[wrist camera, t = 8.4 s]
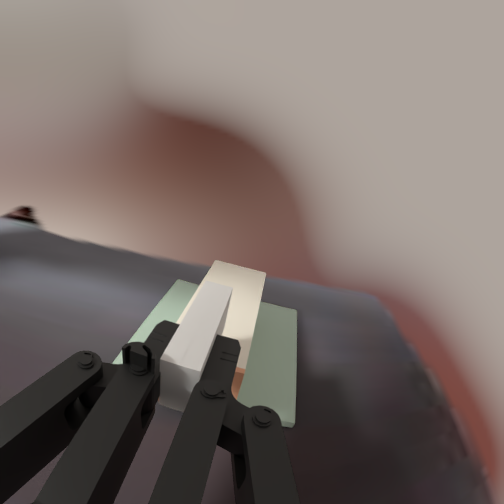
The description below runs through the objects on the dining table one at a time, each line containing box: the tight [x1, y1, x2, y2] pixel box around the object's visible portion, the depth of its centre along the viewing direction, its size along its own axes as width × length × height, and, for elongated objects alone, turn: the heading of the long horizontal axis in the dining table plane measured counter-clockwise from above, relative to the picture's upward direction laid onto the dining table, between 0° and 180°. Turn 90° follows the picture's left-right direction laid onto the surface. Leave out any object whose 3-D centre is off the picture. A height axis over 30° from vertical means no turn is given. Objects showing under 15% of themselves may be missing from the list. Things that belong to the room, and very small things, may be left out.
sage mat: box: [112, 279, 297, 428], centre depth 26 cm, size 14×16×1 cm
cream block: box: [158, 260, 266, 401], centre depth 23 cm, size 5×5×14 cm
